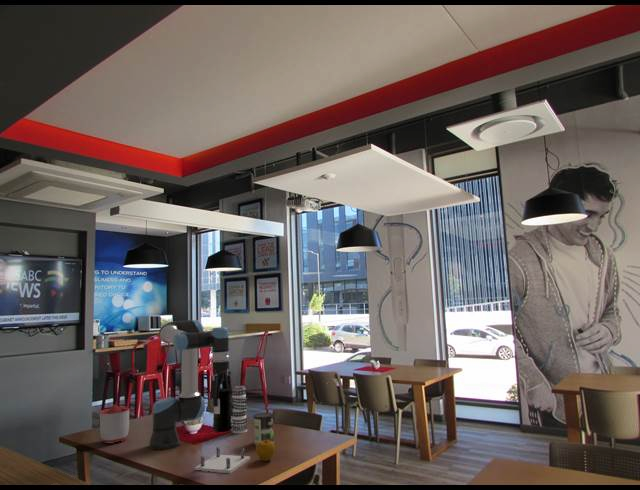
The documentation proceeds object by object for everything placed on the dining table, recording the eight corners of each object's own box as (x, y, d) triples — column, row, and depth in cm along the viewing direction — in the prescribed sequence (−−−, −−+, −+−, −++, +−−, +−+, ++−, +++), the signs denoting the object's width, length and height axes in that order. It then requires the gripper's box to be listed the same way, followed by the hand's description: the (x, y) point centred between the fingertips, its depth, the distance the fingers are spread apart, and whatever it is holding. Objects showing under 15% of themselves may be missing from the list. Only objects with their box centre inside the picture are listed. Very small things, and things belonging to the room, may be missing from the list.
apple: (258, 465, 208) (258, 444, 209) (253, 459, 217) (252, 439, 218) (278, 461, 212) (277, 440, 213) (272, 455, 220) (271, 436, 221)
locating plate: (194, 470, 206) (194, 458, 206) (216, 457, 223) (216, 445, 223) (230, 473, 200) (230, 460, 201) (250, 459, 217) (249, 447, 217)
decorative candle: (228, 431, 267) (227, 386, 270) (242, 428, 273) (241, 384, 276) (237, 434, 260) (236, 388, 263) (251, 430, 266) (249, 385, 269)
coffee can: (276, 439, 246) (275, 412, 248) (270, 445, 236) (269, 417, 238) (257, 439, 248) (257, 412, 250) (251, 445, 238) (250, 417, 240)
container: (213, 428, 217) (212, 388, 219) (233, 426, 218) (232, 387, 220) (211, 433, 208) (210, 392, 210) (231, 431, 209) (230, 390, 211)
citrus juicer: (126, 435, 271) (126, 399, 273) (132, 441, 256) (132, 404, 259) (96, 440, 262) (96, 404, 265) (101, 447, 248) (101, 408, 250)
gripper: (215, 363, 206) (217, 417, 203) (238, 358, 225) (240, 406, 223) (201, 364, 208) (202, 416, 206) (225, 358, 228) (226, 406, 225)
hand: (222, 411), depth 214 cm, fingers closed on container, 8 cm apart
